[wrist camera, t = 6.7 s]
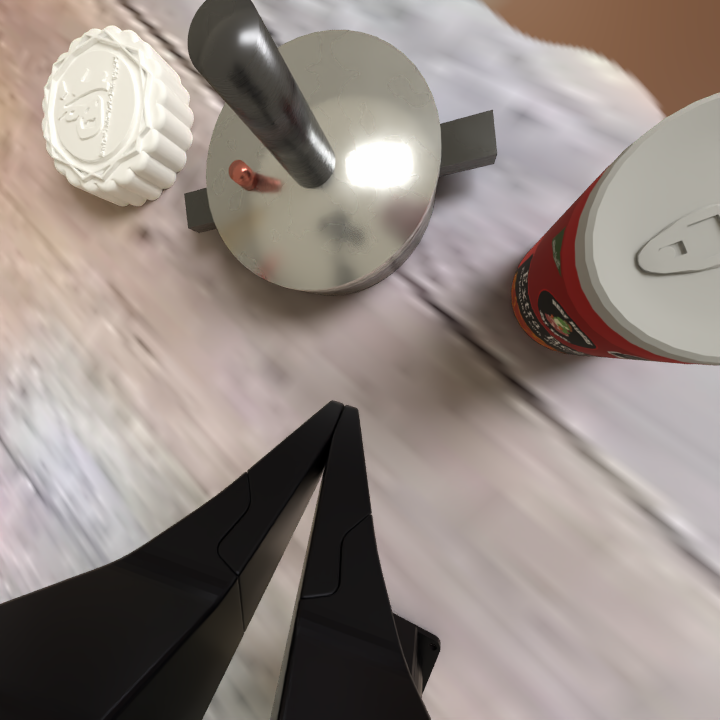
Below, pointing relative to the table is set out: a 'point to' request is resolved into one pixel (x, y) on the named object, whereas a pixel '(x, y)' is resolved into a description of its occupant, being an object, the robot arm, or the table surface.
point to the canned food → (636, 253)
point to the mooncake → (116, 117)
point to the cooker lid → (314, 148)
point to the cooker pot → (458, 153)
